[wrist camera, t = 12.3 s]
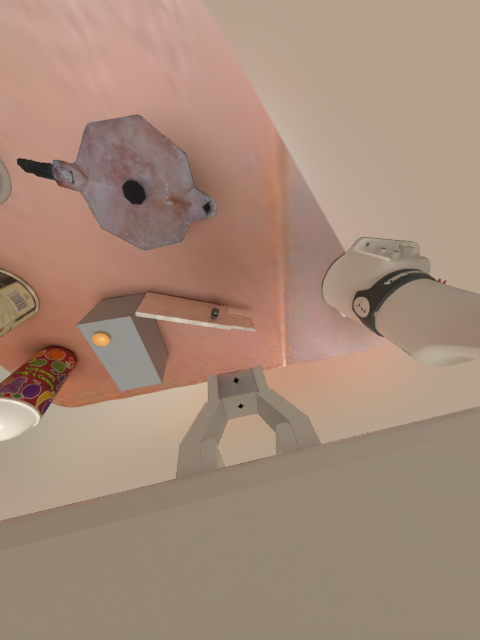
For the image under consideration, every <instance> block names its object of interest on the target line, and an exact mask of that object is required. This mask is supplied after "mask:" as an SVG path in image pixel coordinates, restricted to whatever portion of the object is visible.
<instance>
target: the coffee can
mask: <svg viewBox="0 0 480 640" xmlns="http://www.w3.org/2000/svg"><path fill="white" fill-rule="evenodd" d="M38 308H39V300H38V298H37V296H36V294H35V292H34V291H33V289H32V288H31V287H30V286H29V285H28V284H27V283H26V282H24V281H23V280H22V279H20V278H18V277H17V276H15V275H13V274H12V273H9V272H7V271H4V270H2V269H0V337H2V336H3V335H5V334H6V333H8V332H9V331H11V330H12V329H13V328H15V327H16V326H18V325H19V324H21V323H22V322H24V321H25V320H27V319H28V318H30V317H32V316H34V315H35V314H36V312H37V311H38Z"/></svg>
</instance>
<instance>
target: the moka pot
mask: <svg viewBox="0 0 480 640" xmlns="http://www.w3.org/2000/svg"><path fill="white" fill-rule="evenodd" d="M17 164H18V165H19V166H20V167H21V168H22V169H23V170H24V171H25V172H28V173H33V174H35V175H36V176H38V177H43V178H47V179H52V180H56V182H57V184H58V186H60V187H64V188H69V189H72V190H76V191H79V192H81V194H82V195H83V197H84V199H85V200H86V202H87V204H88V205H89V207H90V209H91V211H92V213H93V215H94V217H95V218H96V220H97V222H98V224H99V225H100V227H101V228H102V229H104V230H106V231H108V232H109V233H111V234H113V235H115V236H117V237H119V238H121V239H123V240H125V241H127V242H128V243H130V244H132V245H134V246H136V247H138V248H140V249H142V250H149V249H153V248H157V247H161V246H165V245H170V244H175V243H179V242H181V241H182V240H183V238H184V236H185V234H186V232H187V230H188V228H189V226H190V224H191V222H192V221H196V220H202V219H206V218H210V217H213V216H214V215H215V214H216V213H217V205H216V202H215V200H214V199H213V198H211V197H210V196H208V195H206V194H204V193H203V192H201V191H200V190H198V189H197V188H196V187H195V185H194V181H193V178H192V174H191V170H190V166H189V162H188V158H187V155H186V153H185V152H183V151H182V150H181V149H180V148H178V147H177V146H176V145H175V144H174V143H172V142H171V141H170V140H169V139H168V138H166V137H165V136H164V135H163V134H162V133H160V132H159V131H158V130H157V129H156V128H154V127H153V126H152V125H151V124H150V123H148V122H147V121H146V120H145V119H144V118H143V117H141V116H140V115H132V116H126V117H121V118H115V119H110V120H104V121H97V122H91V123H88V124H87V125H86V128H85V130H84V132H83V137H82V141H81V145H80V148H79V153H78V156H77V159H76V162H74V163H68V162H65V161H60V160H53V165H52V164H50V163H41V162H36V161H32V160H27V159H21V158H19V159H17Z"/></svg>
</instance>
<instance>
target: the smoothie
mask: <svg viewBox="0 0 480 640" xmlns="http://www.w3.org/2000/svg"><path fill="white" fill-rule="evenodd" d="M74 367H75V356H74V355H73V354H72V353H71V352H70V351H68V350H66V349H64V348H59V347H52V348H48V349H45V350H42V351H40V352H38V353H37V354H36V355H35V356H33V357H32V358H31V359H30V360H28V361H27V362H26V363H25V364H23V365H22V366H21V367H20V368H18V369H17V370H16V371H15V372H13V373H12V374H11V375H10V376H9V377H7V378H6V379H5V380H4V381H3V382H1V383H0V441H5V440H8V439H11V438H14V437H16V436H18V435H20V434H22V433H24V432H25V431H27V430H28V429H30V428H32V427H34V426H36V425H37V423H39V422H40V419H41V417H42V416H43V415H44V413H45V412H46V410H47V409H48V407H49V405H50V404H51V402H52V401H53V399H54V398H55V396H56V395H57V393H58V392H59V390H60V389H61V387H62V385H63V384H64V382H65V381H66V379H67V378H68V376H69V375H70V373H71V372H72V370H73V369H74Z"/></svg>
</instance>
